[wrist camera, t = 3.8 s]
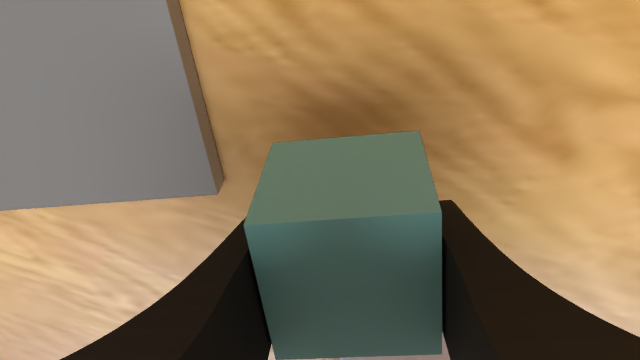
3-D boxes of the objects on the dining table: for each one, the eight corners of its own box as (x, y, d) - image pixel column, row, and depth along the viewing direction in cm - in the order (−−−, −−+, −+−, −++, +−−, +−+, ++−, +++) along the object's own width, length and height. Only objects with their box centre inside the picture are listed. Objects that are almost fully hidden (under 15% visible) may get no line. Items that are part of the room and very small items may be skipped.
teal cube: (422, 249, 15) (441, 354, 11) (294, 257, 15) (275, 359, 12) (419, 130, 13) (441, 212, 10) (272, 142, 13) (243, 225, 10)
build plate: (224, 180, 22) (217, 194, 21) (-20, 199, 23) (-37, 213, 22) (143, -136, 16) (128, -139, 15) (-176, -85, 17) (-210, -84, 16)
